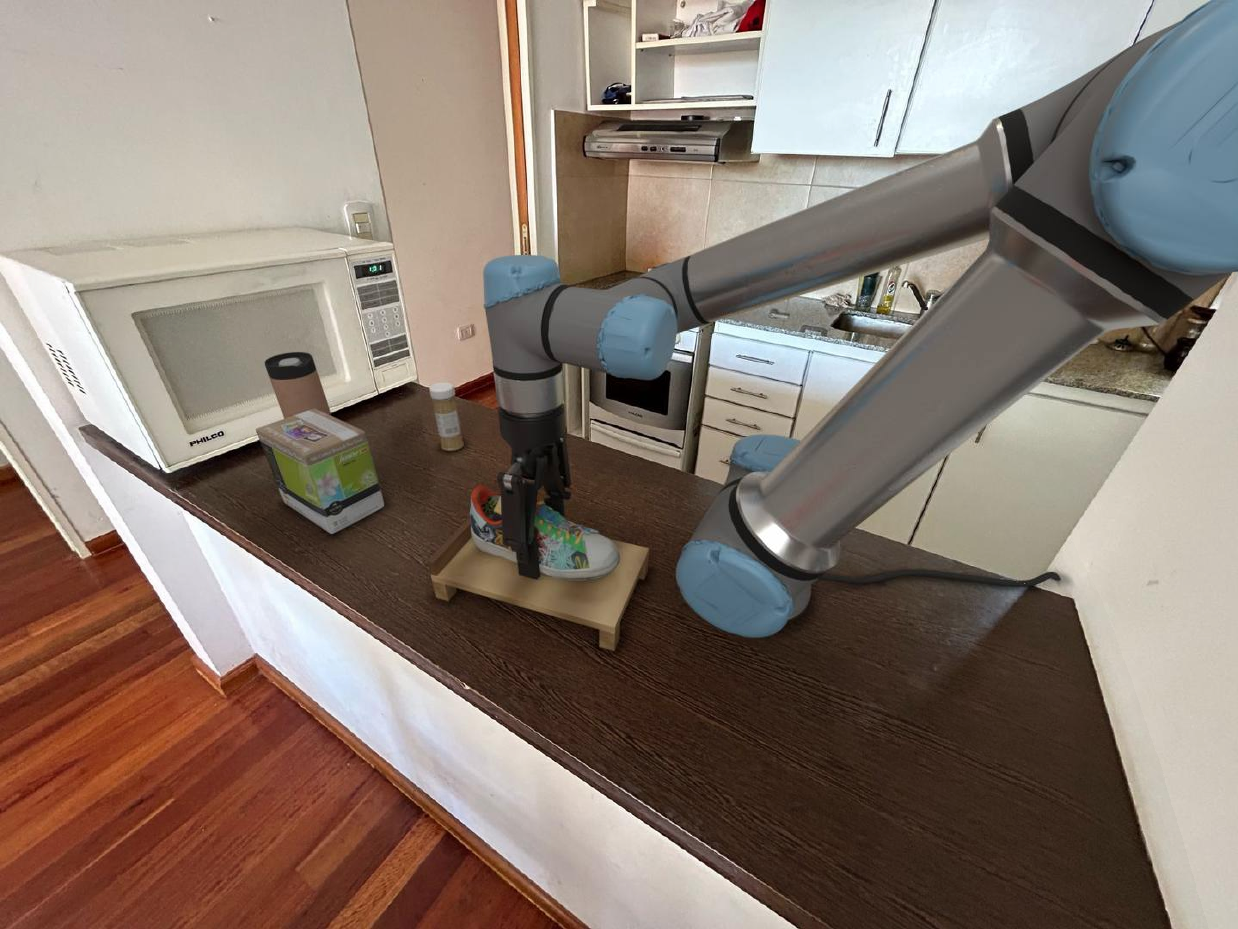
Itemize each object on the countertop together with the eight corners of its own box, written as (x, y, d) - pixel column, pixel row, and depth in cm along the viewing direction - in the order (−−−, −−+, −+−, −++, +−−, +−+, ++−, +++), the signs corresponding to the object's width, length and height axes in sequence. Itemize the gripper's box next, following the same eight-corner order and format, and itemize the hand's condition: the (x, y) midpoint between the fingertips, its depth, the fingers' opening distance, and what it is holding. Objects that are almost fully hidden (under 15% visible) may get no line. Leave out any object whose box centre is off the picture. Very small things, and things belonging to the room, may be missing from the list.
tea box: (387, 506, 87) (366, 429, 80) (331, 537, 80) (302, 456, 72) (338, 477, 94) (314, 405, 87) (282, 504, 87) (251, 427, 80)
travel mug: (304, 448, 103) (269, 353, 92) (345, 443, 105) (316, 349, 94) (295, 468, 97) (258, 368, 86) (340, 462, 99) (308, 364, 88)
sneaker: (606, 595, 64) (606, 535, 59) (460, 556, 70) (448, 498, 65) (626, 556, 70) (627, 498, 65) (489, 523, 76) (480, 468, 71)
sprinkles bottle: (464, 440, 107) (454, 380, 100) (463, 451, 103) (453, 389, 96) (441, 442, 106) (429, 382, 99) (440, 453, 102) (427, 391, 95)
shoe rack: (647, 570, 75) (650, 535, 72) (614, 651, 63) (615, 613, 60) (493, 531, 82) (488, 497, 78) (436, 597, 70) (427, 561, 66)
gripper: (541, 367, 67) (550, 507, 79) (449, 438, 50) (479, 601, 63) (594, 376, 65) (595, 518, 77) (517, 452, 48) (534, 617, 61)
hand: (543, 555), depth 70 cm, fingers closed on sneaker, 7 cm apart
